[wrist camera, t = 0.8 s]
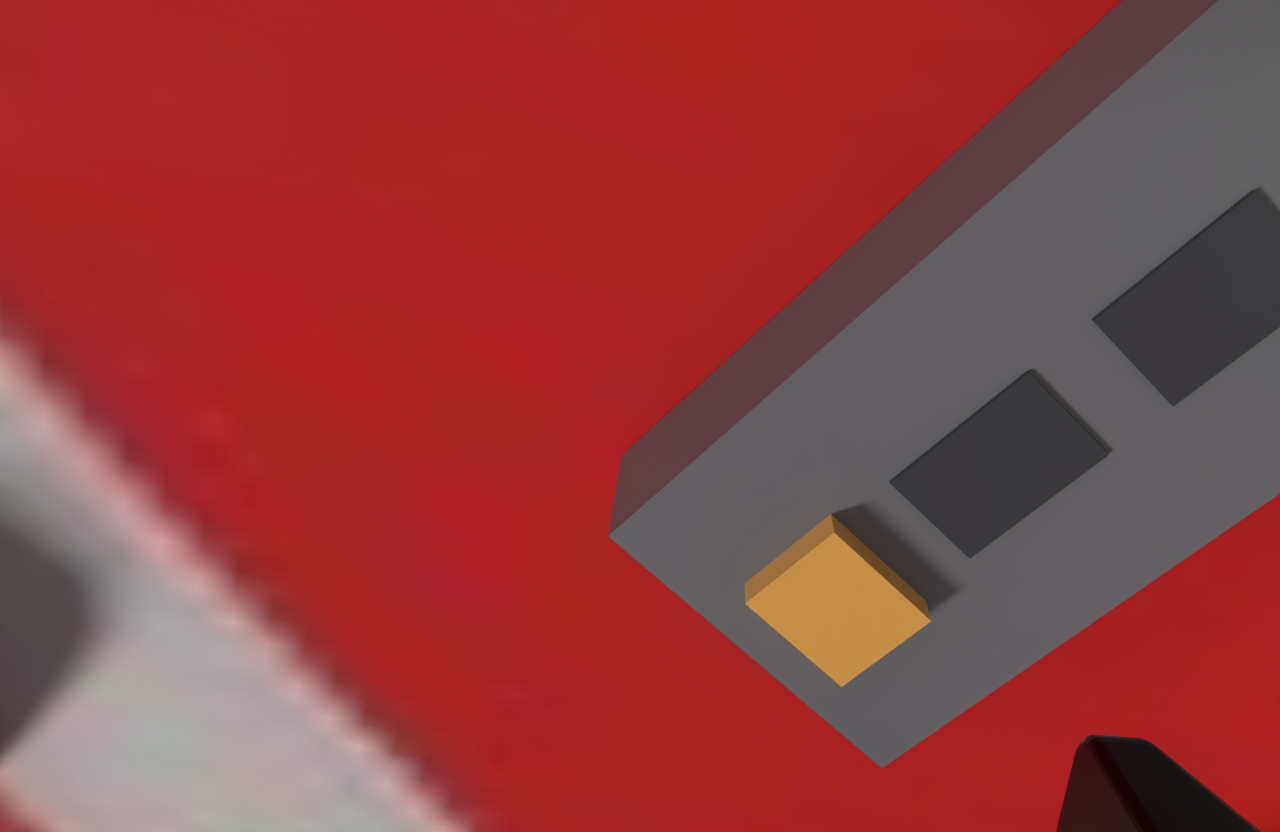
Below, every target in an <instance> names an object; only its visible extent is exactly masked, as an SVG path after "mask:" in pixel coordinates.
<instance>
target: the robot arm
mask: <svg viewBox="0 0 1280 832" xmlns="http://www.w3.org/2000/svg"><path fill="white" fill-rule="evenodd" d="M1057 832H1260V831H1259V830H1258V829H1257V828H1255V827H1254V826H1253V825H1252V824H1251V823H1249V822H1248V821H1247V820H1246V819H1244V818H1243V817H1242V816H1241V815H1240V814H1238V813H1237V812H1236V811H1235V810H1233V809H1232V808H1231V807H1230V806H1229V805H1227V804H1226V803H1225V802H1224V801H1223V800H1221V799H1220V798H1219V797H1218V796H1216V795H1215V794H1214V793H1213V792H1212V791H1210V790H1209V789H1208V788H1207V787H1205V786H1204V785H1203V784H1202V783H1201V782H1199V781H1198V780H1197V779H1196V778H1194V777H1193V776H1192V775H1191V774H1190V773H1188V772H1187V771H1186V770H1185V769H1183V768H1182V767H1181V766H1180V765H1179V764H1177V763H1176V762H1175V761H1174V760H1173V759H1171V758H1170V757H1169V756H1168V755H1166V754H1165V753H1164V752H1163V751H1162V750H1160V749H1159V748H1158V747H1157V746H1155V745H1154V744H1152V743H1151V742H1149V741H1147V740H1145V739H1141V738H1133V737H1118V736H1103V735H1090V736H1088V737H1086V738H1085V739H1083V740H1082V741H1081V743H1080V744H1079V746H1078V748H1077V750H1076V753H1075V756H1074V760H1073V764H1072V768H1071V773H1070V777H1069V781H1068V785H1067V789H1066V793H1065V797H1064V801H1063V805H1062V809H1061V813H1060V817H1059V821H1058V826H1057Z"/></svg>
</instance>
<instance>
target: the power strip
mask: <svg viewBox="0 0 1280 832" xmlns="http://www.w3.org/2000/svg"><path fill="white" fill-rule="evenodd" d="M1278 494H1280V0H1123V1H1121V2H1120V3H1119V4H1118V5H1117V6H1116V7H1115V8H1114V9H1113V10H1112V11H1110V12H1109V13H1108V14H1107V15H1106V16H1105V17H1104V18H1103V19H1102V20H1101V21H1099V22H1098V23H1097V24H1096V25H1095V26H1094V27H1093V28H1092V29H1091V30H1090V31H1088V32H1087V33H1086V34H1085V35H1084V36H1083V37H1082V38H1081V39H1080V40H1079V41H1077V42H1076V43H1075V44H1074V45H1073V46H1072V47H1071V48H1070V49H1069V50H1067V51H1066V52H1065V53H1064V54H1063V55H1062V56H1061V57H1060V58H1059V59H1058V60H1056V61H1055V62H1054V63H1053V64H1052V65H1051V66H1050V67H1049V68H1048V69H1047V70H1045V71H1044V72H1043V73H1042V74H1041V75H1040V76H1039V77H1038V78H1037V79H1036V80H1034V81H1033V82H1032V83H1031V84H1030V85H1029V86H1028V87H1027V88H1026V89H1025V90H1023V91H1022V92H1021V93H1020V94H1019V95H1018V96H1017V97H1016V98H1015V99H1014V100H1012V101H1011V102H1010V103H1009V104H1008V105H1007V106H1006V107H1005V108H1004V109H1003V110H1001V111H1000V112H999V113H998V114H997V115H996V116H995V117H994V118H993V119H992V120H990V121H989V122H988V123H987V124H986V125H985V126H984V127H983V128H982V129H981V130H979V131H978V132H977V133H976V134H975V135H974V136H973V137H972V138H971V139H970V140H968V141H967V142H966V143H965V144H964V145H963V146H962V147H961V148H960V149H959V150H957V151H956V152H955V153H954V154H953V155H952V156H951V157H950V158H949V159H947V160H946V161H945V162H944V163H943V164H942V165H941V166H940V167H939V168H938V169H936V170H935V171H934V172H933V173H932V174H931V175H930V176H929V177H928V178H927V179H925V180H924V181H923V182H922V183H921V184H920V185H919V186H918V187H917V188H916V189H914V190H913V191H912V192H911V193H910V194H909V195H908V196H907V197H906V198H905V199H903V200H902V201H901V202H900V203H899V204H898V205H897V206H896V207H895V208H894V209H892V210H891V211H890V212H889V213H888V214H887V215H886V216H885V217H884V218H883V219H881V220H880V221H879V222H878V223H877V224H876V225H875V226H874V227H873V228H872V229H870V230H869V231H868V232H867V233H866V234H865V235H864V236H863V237H862V238H861V239H859V240H858V241H857V242H856V243H855V244H854V245H853V246H852V247H851V248H850V249H848V250H847V251H846V252H845V253H844V254H843V255H842V256H841V257H840V258H838V259H837V260H836V261H835V262H834V263H833V264H832V265H831V266H830V267H829V268H827V269H826V270H825V271H824V272H823V273H822V274H821V275H820V276H819V277H818V278H816V279H815V280H814V281H813V282H812V283H811V284H810V285H809V286H808V287H807V288H805V289H804V290H803V291H802V292H801V293H800V294H799V295H798V296H797V297H796V298H794V299H793V300H792V301H791V302H790V303H789V304H788V305H787V306H786V307H785V308H783V309H782V310H781V311H780V312H779V313H778V314H777V315H776V316H775V317H774V318H772V319H771V320H770V321H769V322H768V323H767V324H766V325H765V326H764V327H763V328H761V329H760V330H759V331H758V332H757V333H756V334H755V335H754V336H753V337H752V338H750V339H749V340H748V341H747V342H746V343H745V344H744V345H743V346H742V347H741V348H739V349H738V350H737V351H736V352H735V353H734V354H733V355H732V356H731V357H730V358H728V359H727V360H726V361H725V362H724V363H723V364H722V365H721V366H720V367H718V368H717V369H716V370H715V371H714V372H713V373H712V374H711V375H710V376H709V377H707V378H706V379H705V380H704V381H703V382H702V383H701V384H700V385H699V386H698V387H696V388H695V389H694V390H693V391H692V392H691V393H690V394H689V395H688V396H687V397H685V398H684V399H683V400H682V401H681V402H680V403H679V404H678V405H677V406H676V407H674V408H673V409H672V410H671V411H670V412H669V413H668V414H667V415H666V416H665V417H663V418H662V419H661V420H660V421H659V422H658V423H657V424H656V425H655V426H654V427H652V428H651V429H650V430H649V431H648V432H647V433H646V434H645V435H644V436H643V437H641V438H640V439H639V440H638V441H637V442H636V443H635V444H634V445H633V446H632V447H630V448H629V449H628V450H627V451H626V452H625V453H624V454H623V455H622V457H621V463H620V469H619V475H618V481H617V487H616V493H615V498H614V504H613V510H612V516H611V522H610V528H609V534H608V536H609V537H610V538H611V539H612V540H613V541H614V542H616V543H617V544H618V545H619V546H620V547H622V548H623V549H624V550H625V551H626V552H627V553H629V554H630V555H631V556H632V557H633V558H634V559H636V560H637V561H638V562H639V563H640V564H642V565H643V566H644V567H645V568H646V569H647V570H649V571H650V572H651V573H652V574H653V575H655V576H656V577H657V578H658V579H659V580H660V581H662V582H663V583H664V584H665V585H666V586H668V587H669V588H670V589H671V590H672V591H673V592H675V593H676V594H677V595H678V596H679V597H681V598H682V599H683V600H684V601H685V602H686V603H688V604H689V605H690V606H691V607H692V608H693V609H695V610H696V611H697V612H698V613H699V614H701V615H702V616H703V617H704V618H705V619H706V620H708V621H709V622H710V623H711V624H712V625H714V626H715V627H716V628H717V629H718V630H719V631H721V632H722V633H723V634H724V635H725V636H727V637H728V638H729V639H730V640H731V641H732V642H734V643H735V644H736V645H737V646H738V647H740V648H741V649H742V650H743V651H744V652H745V653H747V654H748V655H749V656H750V657H751V658H752V659H754V660H755V661H756V662H757V663H758V664H760V665H761V666H762V667H763V668H764V669H765V670H767V671H768V672H769V673H770V674H771V675H773V676H774V677H775V678H776V679H777V680H778V681H780V682H781V683H782V684H783V685H784V686H786V687H787V688H788V689H789V690H790V691H791V692H793V693H794V694H795V695H796V696H797V697H798V698H800V699H801V700H802V701H803V702H804V703H806V704H807V705H808V706H809V707H810V708H811V709H813V710H814V711H815V712H816V713H817V714H819V715H820V716H821V717H822V718H823V719H824V720H826V721H827V722H828V723H829V724H830V725H832V726H833V727H834V728H835V729H836V730H837V731H839V732H840V733H841V734H842V735H843V736H845V737H846V738H847V739H848V740H849V741H850V742H852V743H853V744H854V745H855V746H856V747H857V748H859V749H860V750H861V751H862V752H863V753H865V754H866V755H867V756H868V757H869V758H870V759H872V760H873V761H874V762H875V763H876V764H878V765H879V766H880V767H881V768H883V767H884V766H886V765H887V764H889V763H890V762H892V761H893V760H895V759H896V758H897V757H899V756H900V755H902V754H903V753H905V752H906V751H908V750H909V749H910V748H912V747H913V746H915V745H916V744H918V743H919V742H921V741H922V740H923V739H925V738H926V737H928V736H929V735H931V734H932V733H934V732H935V731H937V730H938V729H939V728H941V727H942V726H944V725H945V724H947V723H948V722H950V721H951V720H952V719H954V718H955V717H957V716H958V715H960V714H961V713H963V712H964V711H965V710H967V709H968V708H970V707H971V706H973V705H974V704H976V703H977V702H979V701H980V700H981V699H983V698H984V697H986V696H987V695H989V694H990V693H992V692H993V691H994V690H996V689H997V688H999V687H1000V686H1002V685H1003V684H1005V683H1006V682H1007V681H1009V680H1010V679H1012V678H1013V677H1015V676H1016V675H1018V674H1019V673H1020V672H1022V671H1023V670H1025V669H1026V668H1028V667H1029V666H1031V665H1032V664H1034V663H1035V662H1036V661H1038V660H1039V659H1041V658H1042V657H1044V656H1045V655H1047V654H1048V653H1049V652H1051V651H1052V650H1054V649H1055V648H1057V647H1058V646H1060V645H1061V644H1062V643H1064V642H1065V641H1067V640H1068V639H1070V638H1071V637H1073V636H1074V635H1076V634H1077V633H1078V632H1080V631H1081V630H1083V629H1084V628H1086V627H1087V626H1089V625H1090V624H1091V623H1093V622H1094V621H1096V620H1097V619H1099V618H1100V617H1102V616H1103V615H1104V614H1106V613H1107V612H1109V611H1110V610H1112V609H1113V608H1115V607H1116V606H1118V605H1119V604H1120V603H1122V602H1123V601H1125V600H1126V599H1128V598H1129V597H1131V596H1132V595H1133V594H1135V593H1136V592H1138V591H1139V590H1141V589H1142V588H1144V587H1145V586H1146V585H1148V584H1149V583H1151V582H1152V581H1154V580H1155V579H1157V578H1158V577H1160V576H1161V575H1162V574H1164V573H1165V572H1167V571H1168V570H1170V569H1171V568H1173V567H1174V566H1175V565H1177V564H1178V563H1180V562H1181V561H1183V560H1184V559H1186V558H1187V557H1188V556H1190V555H1191V554H1193V553H1194V552H1196V551H1197V550H1199V549H1200V548H1202V547H1203V546H1204V545H1206V544H1207V543H1209V542H1210V541H1212V540H1213V539H1215V538H1216V537H1217V536H1219V535H1220V534H1222V533H1223V532H1225V531H1226V530H1228V529H1229V528H1230V527H1232V526H1233V525H1235V524H1236V523H1238V522H1239V521H1241V520H1242V519H1243V518H1245V517H1246V516H1248V515H1249V514H1251V513H1252V512H1254V511H1255V510H1257V509H1258V508H1259V507H1261V506H1262V505H1264V504H1265V503H1267V502H1268V501H1270V500H1271V499H1272V498H1274V497H1275V496H1277V495H1278Z"/></svg>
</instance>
